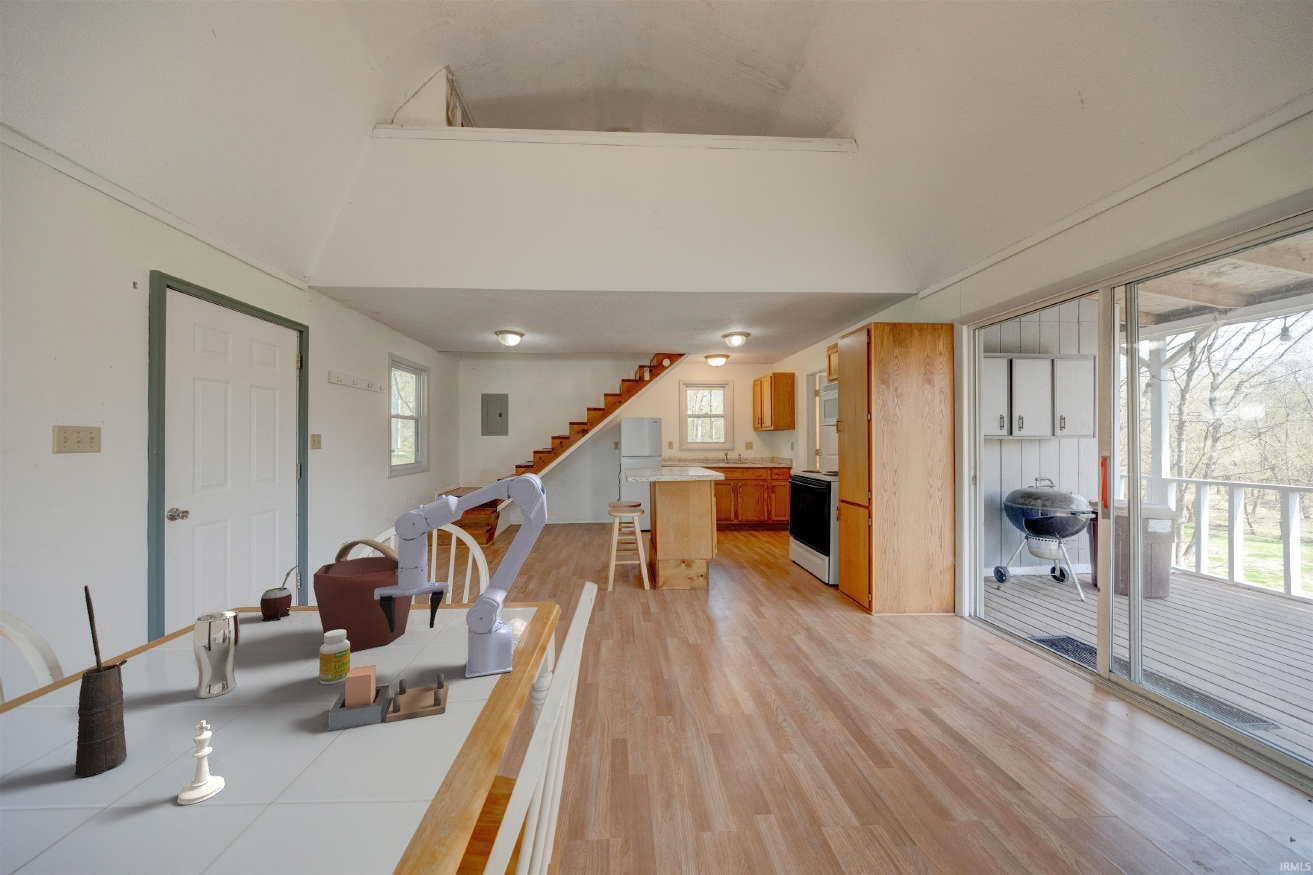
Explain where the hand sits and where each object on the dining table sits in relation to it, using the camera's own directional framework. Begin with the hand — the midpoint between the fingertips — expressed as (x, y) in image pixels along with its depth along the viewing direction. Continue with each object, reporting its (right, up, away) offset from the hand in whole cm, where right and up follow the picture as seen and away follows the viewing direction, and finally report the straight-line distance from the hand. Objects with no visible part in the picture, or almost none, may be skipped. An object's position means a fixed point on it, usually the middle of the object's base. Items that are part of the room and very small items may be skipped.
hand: (412, 628), depth 107 cm
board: (+8, -9, -13) cm, 18 cm away
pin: (-1, -9, -17) cm, 19 cm away
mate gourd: (-55, -10, +34) cm, 65 cm away
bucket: (-21, -10, +18) cm, 29 cm away
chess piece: (-12, -9, -37) cm, 40 cm away
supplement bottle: (-15, -10, -3) cm, 18 cm away
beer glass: (-35, -10, -8) cm, 37 cm away
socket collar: (-1, -9, -17) cm, 19 cm away
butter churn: (-32, -9, -30) cm, 45 cm away
